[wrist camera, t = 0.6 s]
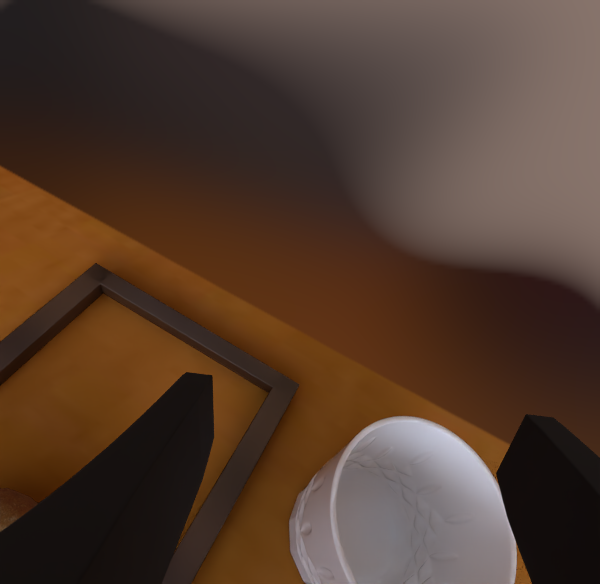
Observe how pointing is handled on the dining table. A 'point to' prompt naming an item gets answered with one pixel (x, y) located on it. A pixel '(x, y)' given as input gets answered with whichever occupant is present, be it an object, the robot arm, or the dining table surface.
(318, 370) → the dining table surface
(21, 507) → the bread roll
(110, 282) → the dark gray u-shaped frame
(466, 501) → the white cup
